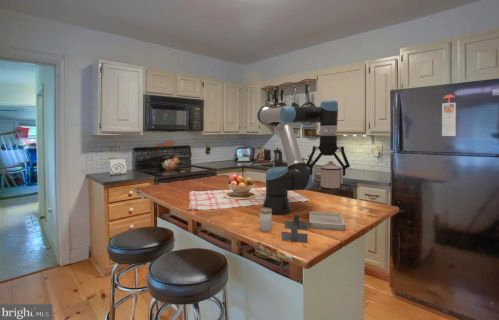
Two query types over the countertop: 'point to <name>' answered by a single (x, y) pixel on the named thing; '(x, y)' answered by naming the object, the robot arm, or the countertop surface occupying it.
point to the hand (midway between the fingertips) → (326, 182)
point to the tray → (326, 221)
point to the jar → (265, 219)
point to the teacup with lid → (329, 175)
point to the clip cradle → (295, 230)
